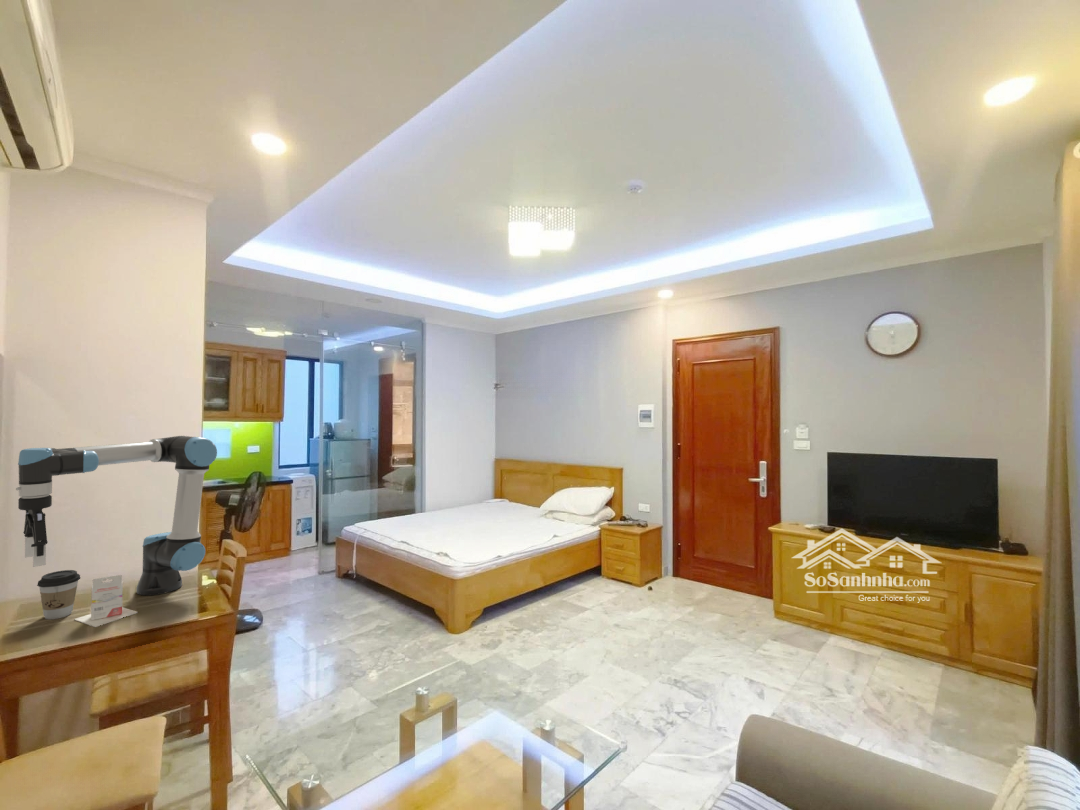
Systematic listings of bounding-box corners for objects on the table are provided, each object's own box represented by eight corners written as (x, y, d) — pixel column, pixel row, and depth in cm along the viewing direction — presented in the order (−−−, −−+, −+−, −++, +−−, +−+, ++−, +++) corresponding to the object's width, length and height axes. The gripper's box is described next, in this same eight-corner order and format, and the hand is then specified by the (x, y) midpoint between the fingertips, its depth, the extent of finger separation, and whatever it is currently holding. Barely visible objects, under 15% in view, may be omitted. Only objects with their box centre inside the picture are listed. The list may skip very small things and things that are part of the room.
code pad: (117, 606, 187) (117, 605, 187) (137, 612, 182) (137, 611, 182) (74, 619, 175) (74, 618, 175) (95, 627, 170) (95, 626, 170)
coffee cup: (31, 624, 170) (32, 581, 170) (42, 612, 180) (43, 571, 180) (75, 617, 176) (76, 576, 176) (83, 606, 186) (84, 567, 186)
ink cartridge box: (122, 609, 183) (123, 570, 183) (122, 614, 179) (123, 574, 179) (91, 615, 177) (92, 575, 177) (90, 620, 174) (91, 579, 174)
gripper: (11, 492, 162) (11, 555, 162) (26, 503, 147) (25, 573, 148) (43, 489, 168) (43, 550, 168) (60, 499, 153) (59, 566, 154)
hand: (35, 561), depth 158 cm, fingers open, 13 cm apart
